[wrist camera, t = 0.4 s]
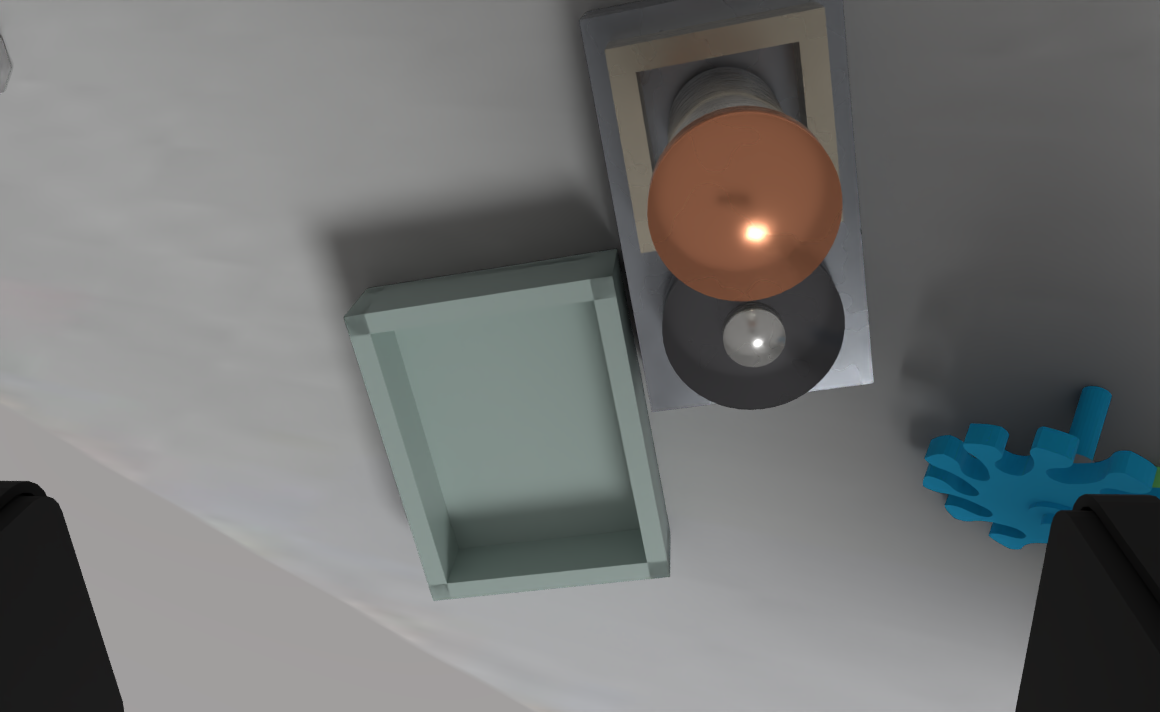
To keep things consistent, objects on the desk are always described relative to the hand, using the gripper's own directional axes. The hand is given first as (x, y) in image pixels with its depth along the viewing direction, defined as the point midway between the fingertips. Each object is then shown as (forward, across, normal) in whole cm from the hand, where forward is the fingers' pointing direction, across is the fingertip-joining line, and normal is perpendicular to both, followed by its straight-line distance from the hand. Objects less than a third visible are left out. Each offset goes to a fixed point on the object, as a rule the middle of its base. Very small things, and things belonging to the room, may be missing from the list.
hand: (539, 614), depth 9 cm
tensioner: (+27, -3, +3) cm, 28 cm away
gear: (+28, -16, +14) cm, 35 cm away
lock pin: (+24, -3, 0) cm, 24 cm away
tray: (+27, +5, +12) cm, 30 cm away
